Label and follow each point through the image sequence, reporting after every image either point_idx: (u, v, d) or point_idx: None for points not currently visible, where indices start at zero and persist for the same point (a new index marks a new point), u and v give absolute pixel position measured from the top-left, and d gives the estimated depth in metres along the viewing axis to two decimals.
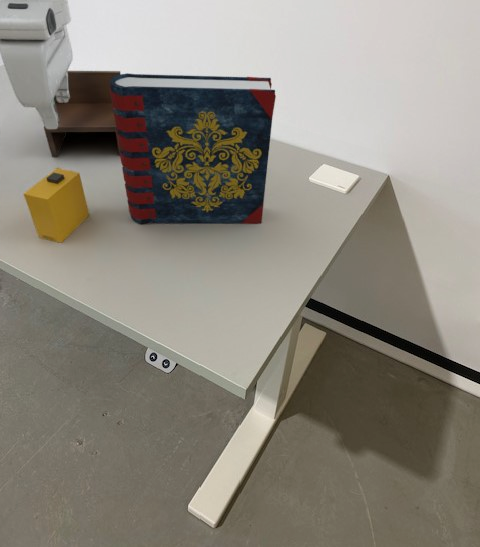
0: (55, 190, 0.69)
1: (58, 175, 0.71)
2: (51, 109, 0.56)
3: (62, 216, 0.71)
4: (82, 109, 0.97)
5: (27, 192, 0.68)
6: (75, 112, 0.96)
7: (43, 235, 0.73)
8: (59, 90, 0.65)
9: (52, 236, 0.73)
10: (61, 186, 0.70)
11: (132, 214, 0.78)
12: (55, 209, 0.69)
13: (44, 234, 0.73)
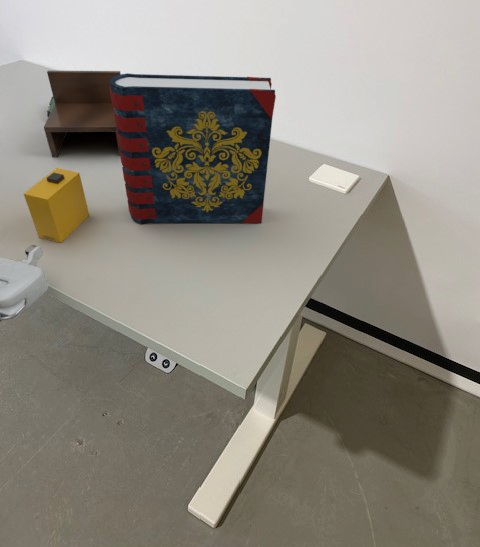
0: (55, 190, 0.69)
1: (58, 175, 0.71)
2: None
3: (62, 216, 0.71)
4: (82, 109, 0.97)
5: (27, 192, 0.68)
6: (75, 112, 0.96)
7: (43, 235, 0.73)
8: (28, 254, 0.62)
9: (52, 236, 0.73)
10: (61, 186, 0.70)
11: (132, 214, 0.78)
12: (55, 209, 0.69)
13: (44, 234, 0.73)
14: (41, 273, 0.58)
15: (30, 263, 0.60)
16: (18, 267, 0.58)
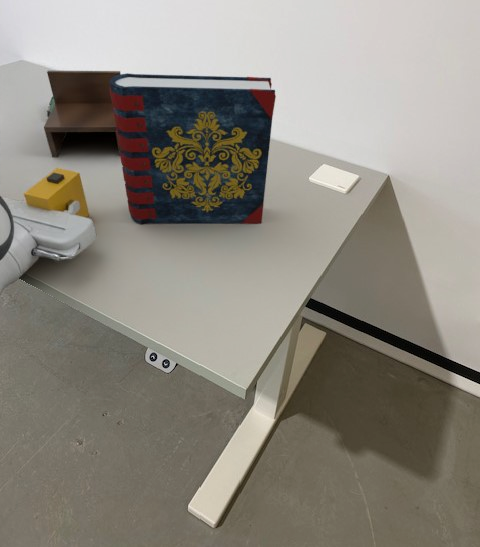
0: (55, 190, 0.69)
1: (58, 175, 0.71)
2: None
3: None
4: (82, 109, 0.97)
5: (27, 192, 0.68)
6: (75, 112, 0.96)
7: None
8: (68, 207, 0.72)
9: None
10: (61, 186, 0.70)
11: (132, 214, 0.78)
12: (56, 209, 0.69)
13: None
14: (91, 223, 0.67)
15: (71, 213, 0.70)
16: (71, 218, 0.67)
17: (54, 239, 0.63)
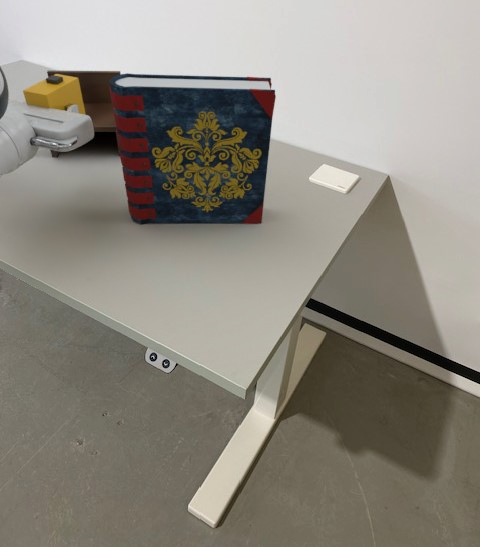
0: (54, 89, 0.70)
1: (57, 77, 0.72)
2: None
3: None
4: None
5: (26, 89, 0.69)
6: None
7: None
8: (66, 110, 0.73)
9: None
10: (60, 86, 0.71)
11: (132, 214, 0.78)
12: None
13: None
14: (90, 119, 0.68)
15: None
16: (70, 114, 0.68)
17: (53, 128, 0.64)
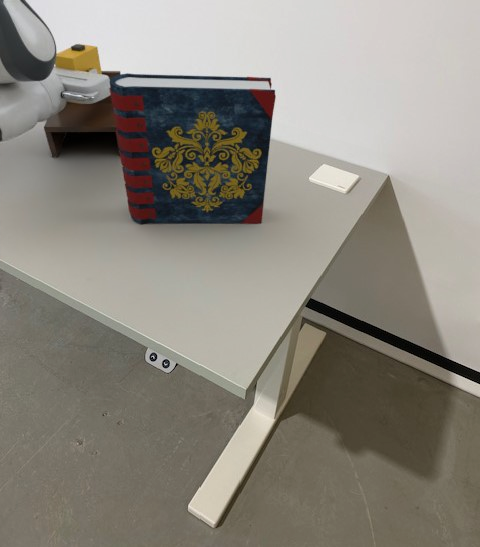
0: (78, 54, 0.84)
1: (80, 45, 0.86)
2: None
3: None
4: (82, 109, 0.97)
5: (56, 54, 0.83)
6: (75, 112, 0.96)
7: None
8: None
9: None
10: (83, 52, 0.85)
11: (132, 214, 0.78)
12: None
13: None
14: (108, 78, 0.82)
15: None
16: (92, 74, 0.83)
17: (79, 84, 0.79)
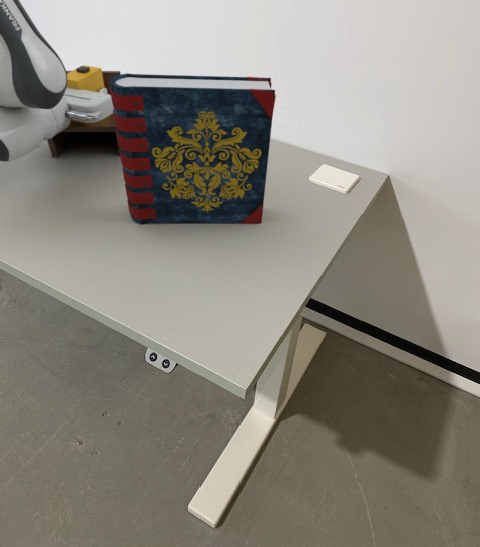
0: (83, 76, 0.87)
1: (85, 67, 0.89)
2: None
3: None
4: None
5: None
6: None
7: None
8: None
9: None
10: (88, 75, 0.88)
11: (132, 214, 0.78)
12: None
13: None
14: None
15: None
16: (95, 93, 0.85)
17: (83, 103, 0.81)
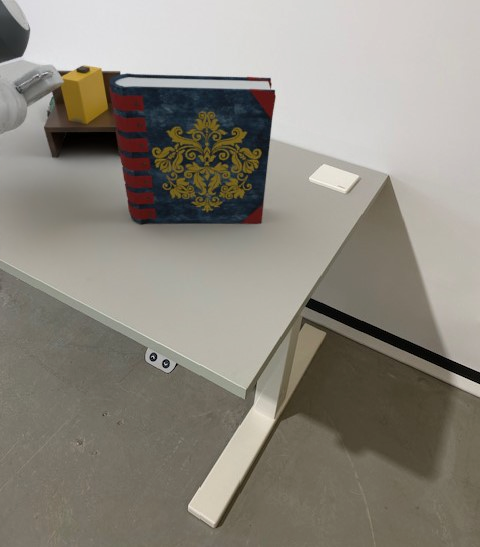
0: (83, 76, 0.87)
1: (85, 67, 0.89)
2: None
3: (88, 100, 0.90)
4: None
5: None
6: None
7: (72, 118, 0.92)
8: None
9: (80, 118, 0.91)
10: (88, 75, 0.88)
11: (132, 214, 0.78)
12: (83, 93, 0.88)
13: (73, 117, 0.91)
14: (52, 65, 0.75)
15: None
16: None
17: None
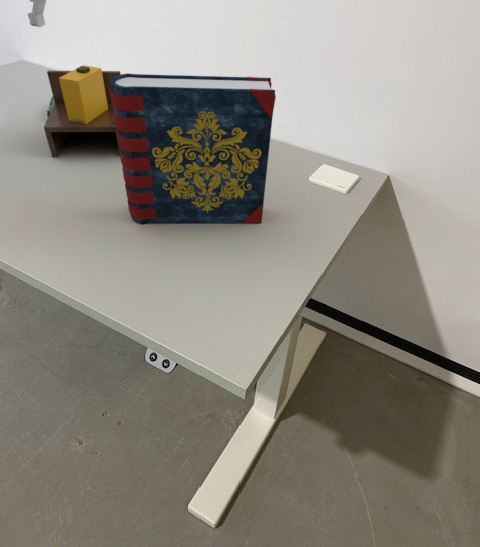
0: (83, 76, 0.87)
1: (85, 67, 0.89)
2: (45, 2, 0.65)
3: (88, 100, 0.90)
4: None
5: (61, 77, 0.86)
6: None
7: (72, 118, 0.92)
8: None
9: (80, 118, 0.91)
10: (88, 75, 0.88)
11: (132, 214, 0.78)
12: (83, 93, 0.88)
13: (73, 117, 0.91)
14: None
15: None
16: None
17: None
